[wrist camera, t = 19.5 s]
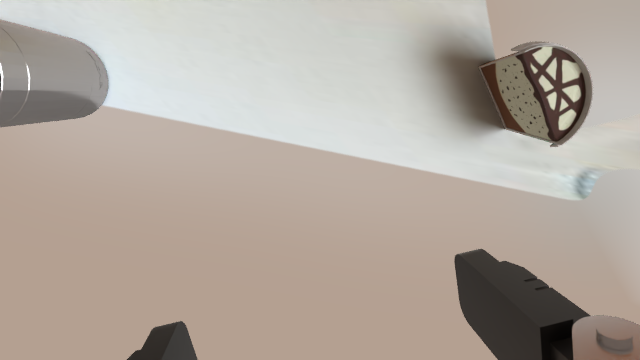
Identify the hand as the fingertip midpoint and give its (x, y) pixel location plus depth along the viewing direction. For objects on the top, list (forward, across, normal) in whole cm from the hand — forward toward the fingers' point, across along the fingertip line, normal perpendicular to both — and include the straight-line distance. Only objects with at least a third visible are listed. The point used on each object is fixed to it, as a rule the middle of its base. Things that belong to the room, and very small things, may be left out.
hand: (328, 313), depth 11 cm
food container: (+38, +30, +1) cm, 49 cm away
